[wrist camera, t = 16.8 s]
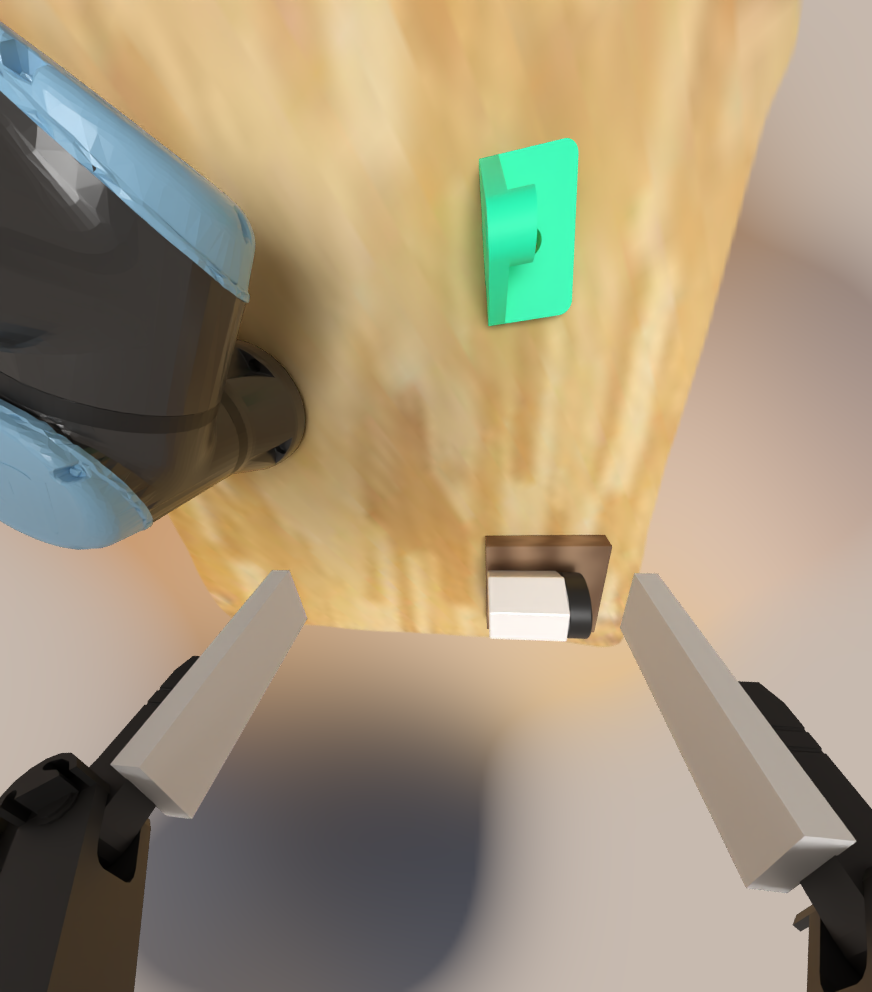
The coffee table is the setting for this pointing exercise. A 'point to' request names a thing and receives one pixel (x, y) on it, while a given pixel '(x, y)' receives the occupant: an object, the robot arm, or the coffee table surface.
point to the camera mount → (529, 230)
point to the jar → (538, 605)
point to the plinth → (553, 559)
